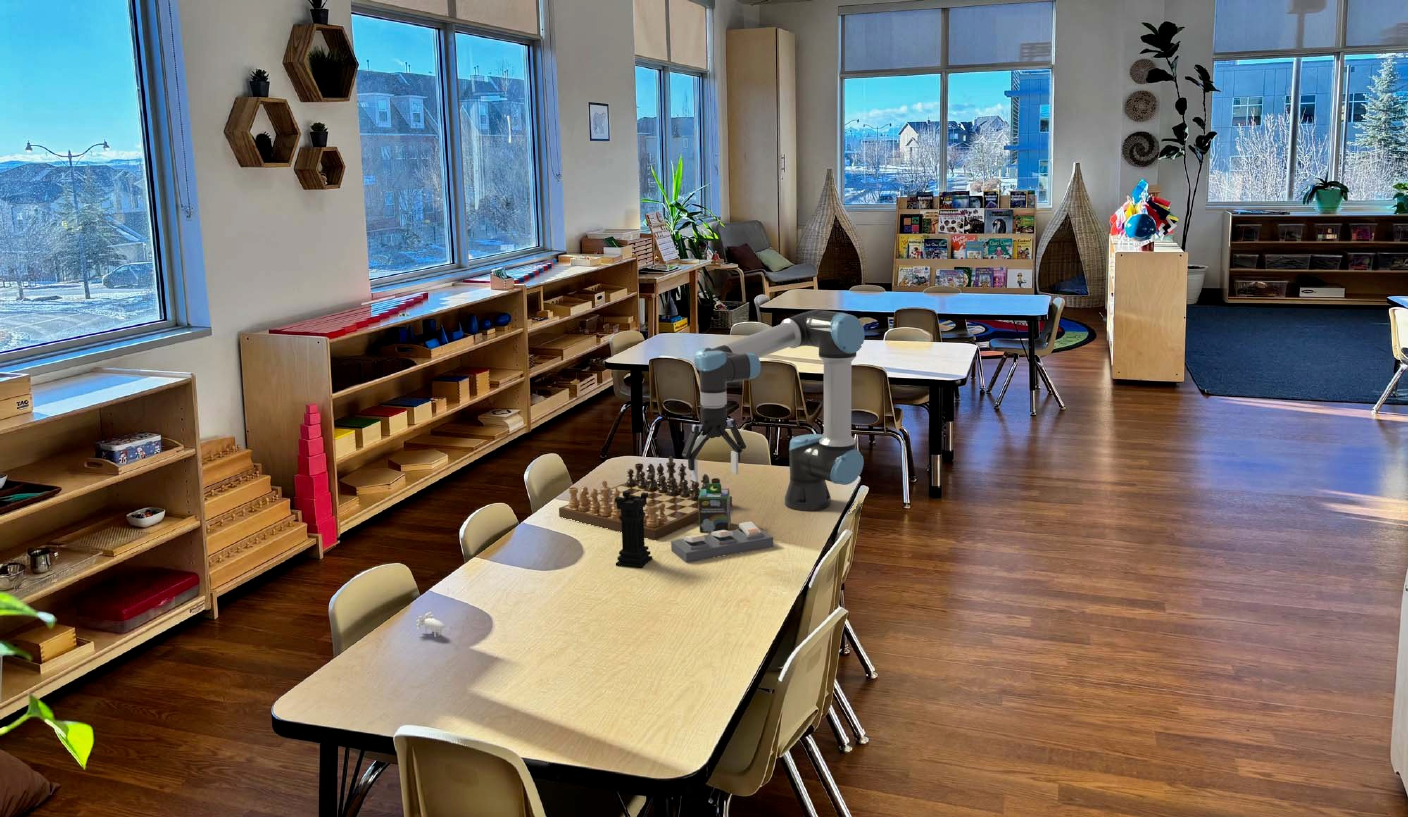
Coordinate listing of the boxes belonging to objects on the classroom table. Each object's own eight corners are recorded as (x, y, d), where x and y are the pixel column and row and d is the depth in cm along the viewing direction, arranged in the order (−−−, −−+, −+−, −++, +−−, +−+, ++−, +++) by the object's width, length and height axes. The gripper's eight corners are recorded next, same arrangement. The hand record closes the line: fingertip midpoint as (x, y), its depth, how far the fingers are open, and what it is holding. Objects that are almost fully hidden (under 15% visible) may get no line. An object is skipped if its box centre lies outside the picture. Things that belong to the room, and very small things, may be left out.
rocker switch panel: (756, 535, 338) (756, 523, 337) (773, 546, 328) (773, 534, 327) (671, 550, 327) (670, 538, 326) (686, 562, 317) (686, 550, 316)
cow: (412, 633, 274) (410, 615, 273) (429, 626, 278) (428, 608, 277) (444, 645, 267) (442, 627, 266) (461, 638, 271) (459, 619, 270)
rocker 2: (750, 524, 334) (751, 520, 333) (760, 534, 328) (760, 531, 328) (738, 526, 332) (739, 523, 331) (748, 536, 327) (748, 533, 326)
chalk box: (730, 523, 350) (730, 478, 346) (728, 533, 341) (727, 486, 338) (701, 523, 351) (700, 478, 347) (698, 532, 342) (697, 486, 339)
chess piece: (652, 558, 321) (649, 492, 316) (641, 568, 313) (639, 500, 309) (626, 556, 323) (624, 490, 319) (615, 565, 316) (612, 498, 312)
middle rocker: (723, 533, 330) (723, 529, 330) (732, 535, 324) (732, 531, 324) (711, 535, 329) (711, 531, 329) (720, 537, 323) (720, 533, 323)
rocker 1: (696, 538, 327) (695, 534, 327) (704, 540, 321) (704, 536, 321) (683, 540, 325) (683, 536, 325) (692, 542, 319) (691, 538, 319)
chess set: (655, 542, 336) (653, 495, 333) (559, 518, 360) (556, 474, 356) (732, 507, 367) (731, 463, 364) (639, 487, 391) (637, 447, 387)
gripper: (743, 397, 327) (744, 467, 332) (668, 408, 315) (670, 480, 320) (757, 402, 321) (757, 473, 325) (681, 413, 309) (683, 487, 313)
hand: (714, 477), depth 322 cm, fingers open, 13 cm apart
